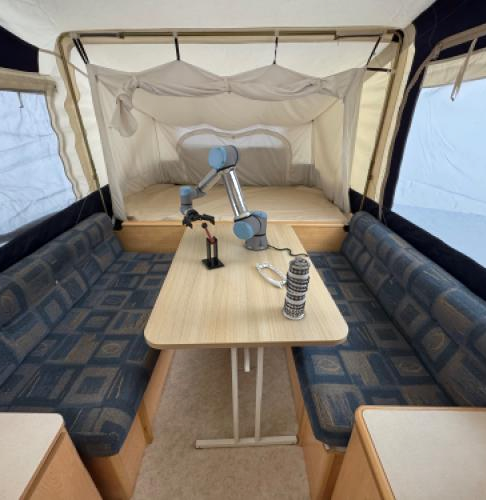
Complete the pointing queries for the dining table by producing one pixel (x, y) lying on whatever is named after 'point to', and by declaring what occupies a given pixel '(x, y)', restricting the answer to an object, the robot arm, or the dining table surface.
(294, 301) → the decorative candle
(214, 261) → the bracket
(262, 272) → the door handle
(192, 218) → the robot arm
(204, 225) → the lever
